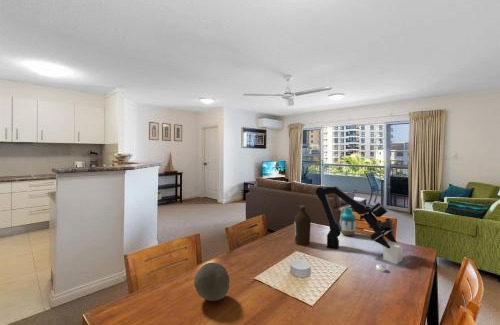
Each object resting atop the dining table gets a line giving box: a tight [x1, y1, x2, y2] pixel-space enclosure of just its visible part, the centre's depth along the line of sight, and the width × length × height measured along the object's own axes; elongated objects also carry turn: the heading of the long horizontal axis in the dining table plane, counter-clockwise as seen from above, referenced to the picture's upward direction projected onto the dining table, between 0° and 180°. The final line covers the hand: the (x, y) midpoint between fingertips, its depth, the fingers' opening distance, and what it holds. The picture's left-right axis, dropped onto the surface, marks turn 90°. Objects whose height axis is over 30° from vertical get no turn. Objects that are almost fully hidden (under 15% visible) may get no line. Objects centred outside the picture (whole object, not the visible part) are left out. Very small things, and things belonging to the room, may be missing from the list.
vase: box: [339, 207, 357, 236], centre depth 179 cm, size 11×11×19 cm
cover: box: [382, 240, 404, 264], centre depth 138 cm, size 7×7×9 cm
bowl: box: [375, 263, 386, 273], centre depth 127 cm, size 4×4×3 cm
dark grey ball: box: [193, 262, 231, 302], centre depth 103 cm, size 14×14×15 cm
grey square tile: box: [374, 253, 412, 269], centre depth 138 cm, size 14×14×1 cm
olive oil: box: [293, 205, 312, 247], centre depth 164 cm, size 11×11×25 cm
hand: (392, 245), depth 138 cm, fingers open, 9 cm apart
